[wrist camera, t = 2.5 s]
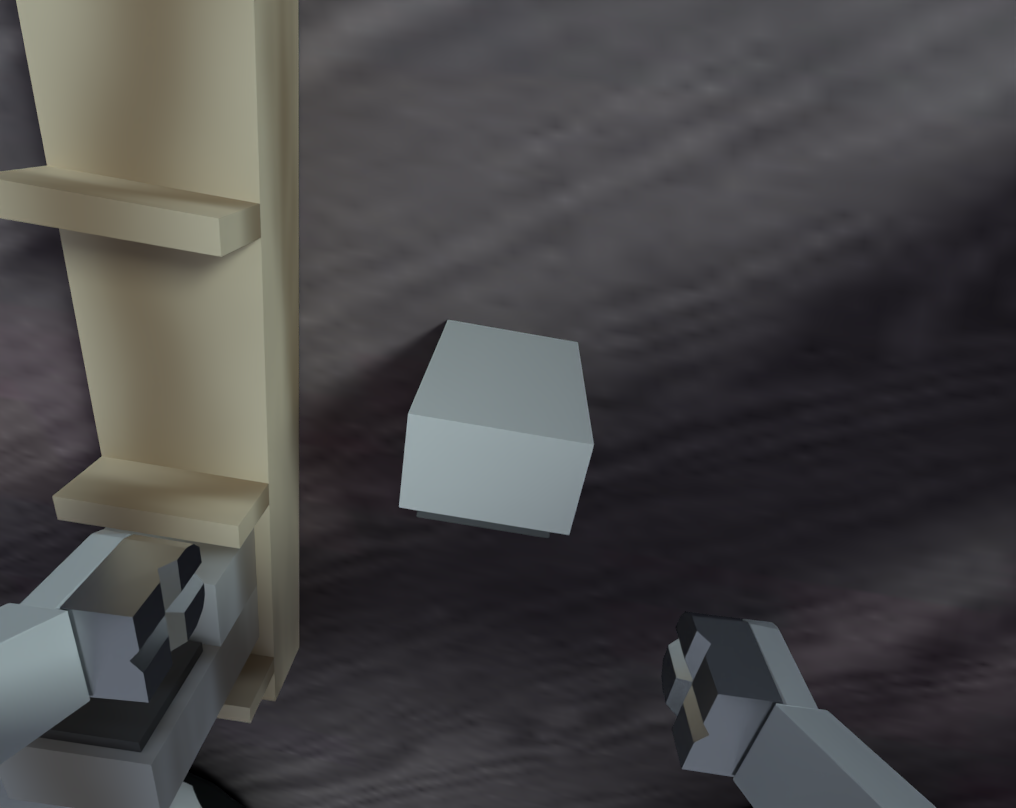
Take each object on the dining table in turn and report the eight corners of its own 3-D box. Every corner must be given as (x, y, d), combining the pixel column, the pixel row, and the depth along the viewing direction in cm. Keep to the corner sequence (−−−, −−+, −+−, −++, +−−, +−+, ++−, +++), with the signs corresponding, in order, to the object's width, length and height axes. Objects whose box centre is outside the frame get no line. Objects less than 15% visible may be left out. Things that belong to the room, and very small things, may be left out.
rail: (298, -304, 12) (-142, -1042, 4) (299, 647, 25) (192, 888, 17) (46, -356, 12) (-888, -1221, 4) (180, 628, 24) (19, 864, 17)
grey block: (577, 342, 18) (593, 445, 12) (545, 476, 20) (548, 611, 15) (447, 319, 18) (408, 413, 12) (430, 457, 20) (390, 586, 15)
